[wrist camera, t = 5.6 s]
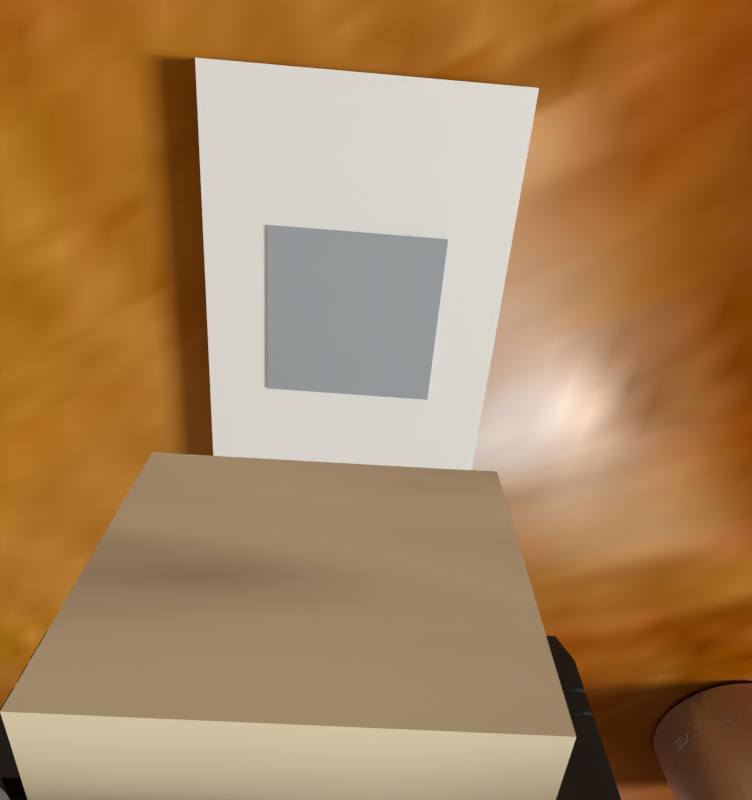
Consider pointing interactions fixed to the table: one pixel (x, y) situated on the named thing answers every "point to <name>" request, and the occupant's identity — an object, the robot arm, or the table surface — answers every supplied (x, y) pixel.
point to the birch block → (296, 644)
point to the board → (354, 258)
